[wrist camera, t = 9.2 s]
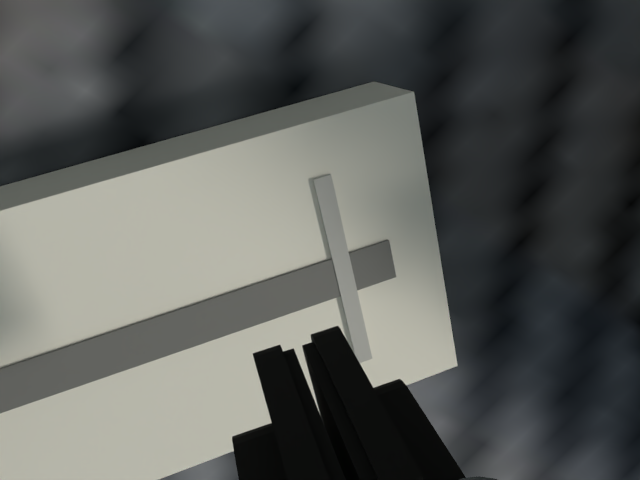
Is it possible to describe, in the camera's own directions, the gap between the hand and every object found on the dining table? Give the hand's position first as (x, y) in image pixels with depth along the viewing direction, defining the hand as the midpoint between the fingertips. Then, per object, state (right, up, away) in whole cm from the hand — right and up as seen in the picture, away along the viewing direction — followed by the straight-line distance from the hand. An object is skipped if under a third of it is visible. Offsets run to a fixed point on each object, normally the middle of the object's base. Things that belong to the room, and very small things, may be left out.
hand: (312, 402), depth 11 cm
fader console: (-7, +1, +7) cm, 11 cm away
